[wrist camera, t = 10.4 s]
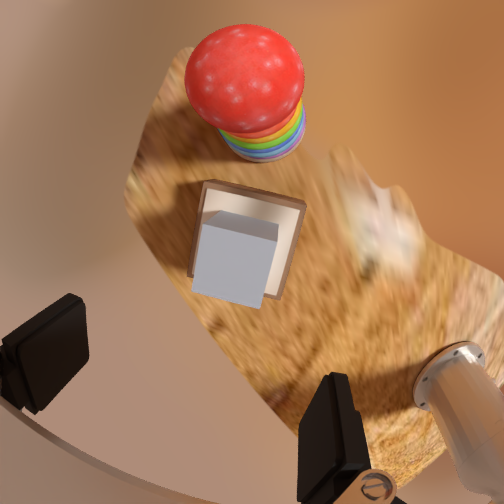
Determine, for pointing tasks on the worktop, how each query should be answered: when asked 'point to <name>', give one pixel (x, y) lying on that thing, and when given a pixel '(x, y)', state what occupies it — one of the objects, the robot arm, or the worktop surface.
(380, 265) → the worktop surface
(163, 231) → the worktop surface
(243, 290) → the grey block
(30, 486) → the robot arm
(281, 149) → the stacking toy
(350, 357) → the worktop surface
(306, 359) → the worktop surface
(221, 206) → the walnut tray
